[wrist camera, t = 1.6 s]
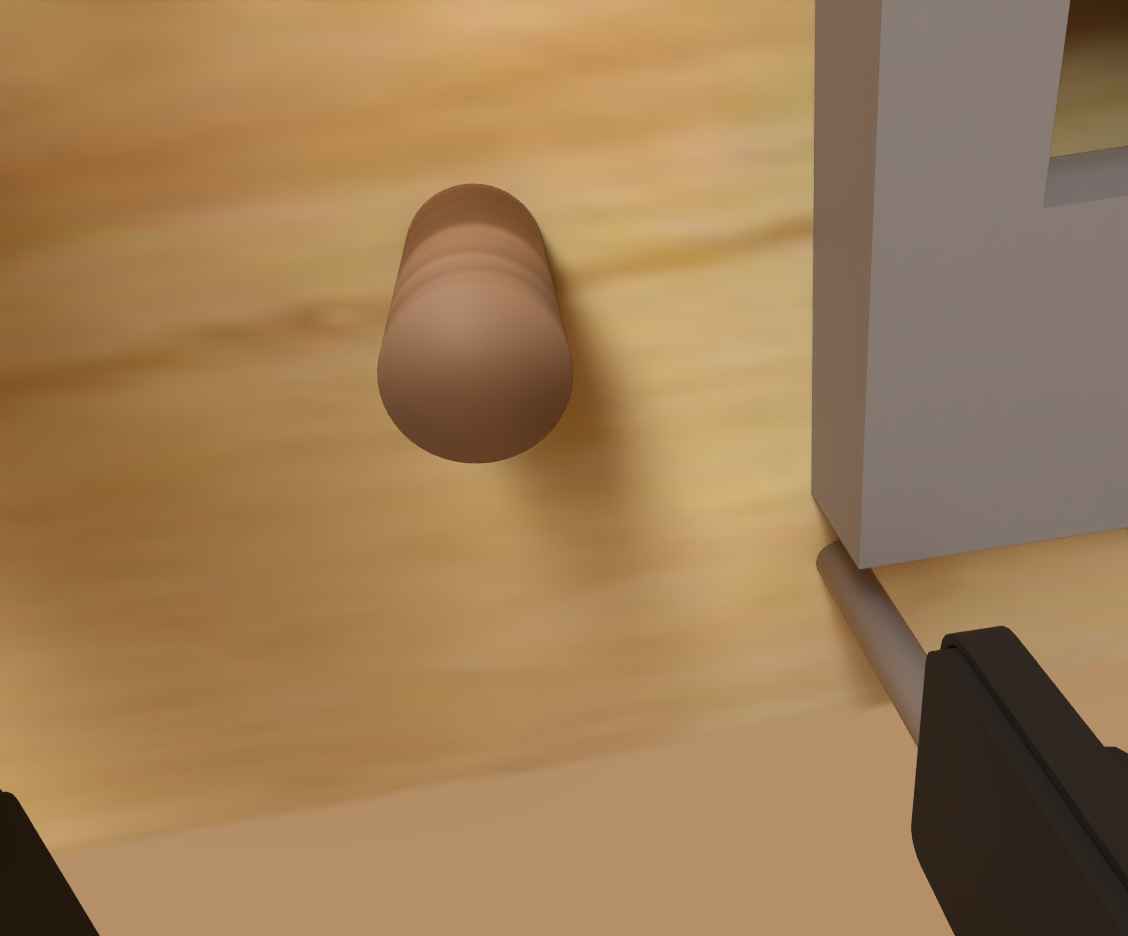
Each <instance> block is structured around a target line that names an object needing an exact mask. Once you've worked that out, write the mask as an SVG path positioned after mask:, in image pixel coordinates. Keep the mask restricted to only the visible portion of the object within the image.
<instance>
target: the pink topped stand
mask: <svg viewBox="0 0 1128 936" xmlns="http://www.w3.org/2000/svg"><path fill="white" fill-rule="evenodd" d="M816 566H817V569H818V571H819V573H820V574H821V576H822V578H823V580H824V581H825V583H826V585H827V587H828V589H829V590H830V592H831V594H832V596H833V598H834V599H835V601H836V603H837V605H838V606H839V608H840V610H841V612H842V614H843V615H844V617H845V619H846V621H847V622H848V624H849V626H850V628H851V630H852V631H853V633H854V635H855V637H856V638H857V640H858V642H859V644H860V646H861V647H862V649H863V651H864V653H865V654H866V656H867V658H868V660H869V662H870V663H871V665H872V667H873V669H874V671H875V672H876V674H877V676H878V678H879V679H880V681H881V683H882V685H883V687H884V688H885V690H886V692H887V694H888V695H889V697H890V699H891V701H892V703H893V704H894V706H895V708H896V710H897V711H898V713H899V715H900V717H901V719H902V720H903V722H904V724H905V726H906V727H907V729H908V731H909V733H910V735H911V736H912V738H913V740H914V742H915V743H916V745H917V747H918V743H919V731H920V720H921V708H922V697H923V686H924V674H925V663H926V657H927V654H926V653H925V651H924V650H923V648H922V647H921V645H920V644H919V642H918V641H917V639H916V638H915V636H914V634H913V633H912V631H911V630H910V628H909V627H908V625H907V624H906V622H905V621H904V619H903V617H902V616H901V614H900V613H899V611H898V610H897V608H896V607H895V605H894V604H893V602H892V601H891V599H890V597H889V596H888V594H887V593H886V591H885V590H884V588H883V587H882V585H881V584H880V582H879V580H878V579H877V577H876V576H875V574H874V573H873V571H872V570H871V568H865V569H859V568H858V567H857V565H856V564H855V562H854V561H853V559H852V557H851V556H850V554H849V553H848V551H847V549H846V548H845V546H844V545H843V543H842V541H839V542H835V543H832V544H830V545H828V546H826V547H825V548H824V549H823V550H822V551H821V552H820V553H819V555H818V557H817V561H816Z"/></svg>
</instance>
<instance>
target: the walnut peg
mask: <svg viewBox="0 0 1128 936" xmlns="http://www.w3.org/2000/svg"><path fill="white" fill-rule="evenodd" d="M377 374H378V386H379V391H380V395H381V398H382V401H383V404H384V406H385V408H386V410H387V412H388V415H389V416H390V418H391V419H392V421H393V422H394V424H395V425H396V426H397V427H398V428H399V430H400V431H401V432H402V433H403V434H404V435H405V436H406V437H407V438H408V439H410V440H411V441H412V442H413V443H415V444H416V445H418V446H419V447H420V448H422V449H424V450H426V451H428V452H430V453H431V454H434V455H436V456H439V457H441V458H444V459H448V460H452V461H456V462H463V463H489V462H495V461H500V460H504V459H507V458H510V457H513V456H516V455H518V454H520V453H522V452H524V451H526V450H528V449H530V448H531V447H533V446H534V445H536V444H537V443H538V442H540V441H541V440H542V439H543V438H544V437H546V435H547V434H548V433H549V432H550V431H551V430H552V429H553V428H554V427H555V425H556V424H557V422H558V421H559V420H560V418H561V416H562V414H563V412H564V411H565V409H566V406H567V403H568V401H569V398H570V394H571V389H572V381H573V367H572V360H571V355H570V350H569V346H568V342H567V338H566V334H565V330H564V326H563V322H562V318H561V314H560V310H559V306H558V302H557V297H556V293H555V289H554V285H553V281H552V277H551V273H550V269H549V265H548V261H547V257H546V253H545V249H544V245H543V241H542V237H541V233H540V231H539V228H538V225H537V223H536V221H535V219H534V218H533V216H532V215H531V213H530V212H529V211H528V209H527V208H526V207H525V206H524V205H523V204H522V203H521V202H520V201H519V200H517V199H516V198H515V197H513V196H512V195H510V194H509V193H507V192H505V191H503V190H501V189H498V188H495V187H492V186H488V185H483V184H463V185H458V186H454V187H451V188H448V189H445V190H443V191H441V192H439V193H438V194H436V195H435V196H433V197H432V198H430V199H429V200H428V201H427V202H426V203H425V204H424V205H423V206H422V207H421V208H420V210H419V211H418V212H417V213H416V215H415V217H414V219H413V220H412V222H411V225H410V227H409V230H408V234H407V238H406V242H405V246H404V251H403V255H402V259H401V263H400V268H399V272H398V276H397V281H396V285H395V289H394V294H393V298H392V302H391V307H390V311H389V315H388V320H387V324H386V328H385V332H384V337H383V341H382V345H381V350H380V354H379V359H378V368H377Z"/></svg>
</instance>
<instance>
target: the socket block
mask: <svg viewBox="0 0 1128 936" xmlns="http://www.w3.org/2000/svg"><path fill="white" fill-rule="evenodd" d="M1069 6H1070V0H816V14H815V133H814V252H813V370H812V489H811V494H812V495H813V497H814V499H815V500H816V502H817V503H818V505H819V506H820V508H821V510H822V511H823V513H824V514H825V516H826V518H827V519H828V521H829V522H830V524H831V526H832V527H833V529H834V530H835V532H836V534H837V535H838V537H839V538H840V540H841V541H842V543H843V545H844V546H845V548H846V549H847V551H848V553H849V554H850V556H851V557H852V559H853V561H854V562H855V564H856V565H857V567H858V568H859V569H865V568H871V567H878V566H884V565H891V564H897V563H903V562H910V561H916V560H923V559H929V558H935V557H942V556H948V555H955V554H961V553H968V552H974V551H980V550H987V549H993V548H1000V547H1006V546H1013V545H1019V544H1025V543H1032V542H1038V541H1045V540H1051V539H1057V538H1064V537H1070V536H1077V535H1083V534H1090V533H1096V532H1102V531H1109V530H1115V529H1122V528H1128V146H1125V147H1118V148H1112V149H1105V150H1098V151H1092V152H1085V153H1078V154H1072V155H1065V156H1058V157H1052V158H1050V151H1051V143H1052V135H1053V128H1054V120H1055V112H1056V105H1057V97H1058V90H1059V82H1060V74H1061V67H1062V59H1063V51H1064V44H1065V36H1066V29H1067V21H1068V13H1069Z"/></svg>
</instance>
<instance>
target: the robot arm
mask: <svg viewBox="0 0 1128 936" xmlns="http://www.w3.org/2000/svg"><path fill="white" fill-rule="evenodd" d="M911 832H912V839H913V844H914V848H915V851H916V855H917V858H918V860H919V862H920V865H921V867H922V869H923V871H924V873H925V875H926V877H927V879H928V882H929V883H930V886H931V888H932V890H933V891H934V894H935V896H936V898H937V900H938V902H939V904H940V906H941V908H942V910H943V912H944V914H945V916H946V918H947V921H948V923H949V925H950V927H951V929H952V931H953V933H954V935H955V936H1128V753H1126V752H1124V751H1122V750H1120V749H1119V748H1117V747H1104V746H1103V745H1102V743H1101V742H1100V741H1099V740H1098V738H1097V737H1096V736H1095V735H1094V733H1093V732H1092V731H1091V729H1090V728H1089V727H1088V726H1087V725H1086V723H1085V722H1084V721H1083V719H1082V718H1081V717H1080V716H1079V714H1078V713H1077V712H1076V711H1075V709H1074V708H1073V707H1072V706H1071V704H1070V703H1069V702H1068V701H1067V699H1066V698H1065V697H1064V695H1063V694H1062V693H1061V692H1060V690H1059V689H1058V688H1057V687H1056V685H1055V684H1054V683H1053V682H1052V680H1051V679H1050V678H1049V677H1048V675H1047V674H1046V673H1045V672H1044V670H1043V669H1042V668H1041V667H1040V665H1039V664H1038V663H1037V661H1036V660H1035V659H1034V658H1033V656H1032V655H1031V654H1030V653H1029V651H1028V650H1027V649H1026V648H1025V646H1024V645H1023V644H1022V643H1021V641H1020V640H1019V639H1018V638H1017V636H1016V635H1015V634H1014V633H1013V632H1012V631H1011V630H1010V629H1009V628H1006V627H1004V626H997V627H991V628H984V629H978V630H971V631H964V632H958V633H951V634H947V635H945V637H944V638H943V640H942V643H941V648H940V650H936V651H931V652H929V653H928V655H927V657H926V663H925V674H924V686H923V697H922V708H921V720H920V731H919V743H918V755H917V766H916V777H915V789H914V801H913V811H912V823H911ZM0 936H99V934H98V932H97V931H96V929H95V928H94V926H93V924H92V922H91V921H90V919H89V917H88V916H87V914H86V913H85V911H84V909H83V907H82V906H81V904H80V902H79V901H78V899H77V898H76V896H75V894H74V892H73V891H72V889H71V888H70V886H69V884H68V883H67V881H66V879H65V878H64V876H63V874H62V873H61V871H60V869H59V868H58V866H57V864H56V863H55V861H54V859H53V858H52V856H51V854H50V853H49V851H48V849H47V848H46V846H45V844H44V843H43V841H42V839H41V838H40V836H39V834H38V833H37V831H36V829H35V828H34V826H33V824H32V823H31V821H30V819H29V818H28V816H27V814H26V813H25V811H24V810H23V808H22V806H21V805H20V803H19V801H18V800H17V798H16V797H15V796H14V795H13V794H11V793H9V792H2V791H1V789H0Z"/></svg>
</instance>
